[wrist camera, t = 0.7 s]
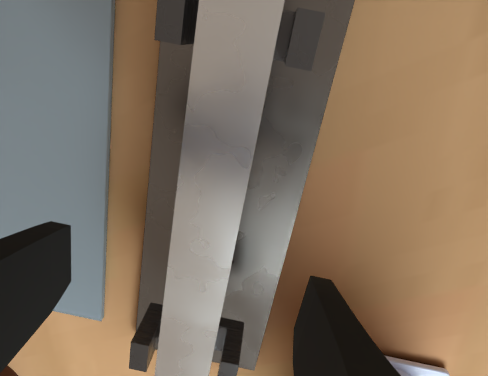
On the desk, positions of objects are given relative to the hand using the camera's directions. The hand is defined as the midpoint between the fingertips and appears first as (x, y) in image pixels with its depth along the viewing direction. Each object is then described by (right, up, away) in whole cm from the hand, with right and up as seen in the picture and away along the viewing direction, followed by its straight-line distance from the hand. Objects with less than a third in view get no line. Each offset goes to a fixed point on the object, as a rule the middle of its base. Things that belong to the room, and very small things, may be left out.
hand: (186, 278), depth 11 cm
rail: (0, +2, +4) cm, 5 cm away
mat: (-10, +6, +9) cm, 14 cm away
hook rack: (+1, +4, +9) cm, 9 cm away
